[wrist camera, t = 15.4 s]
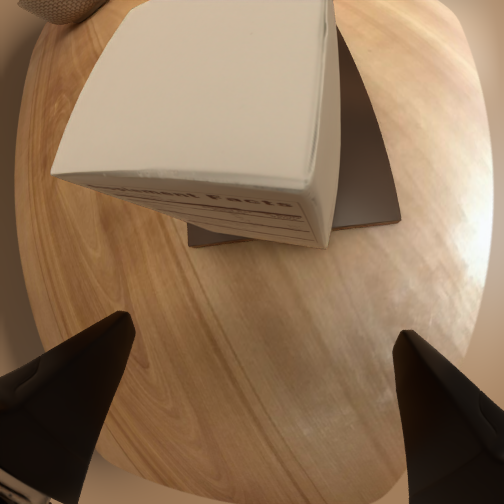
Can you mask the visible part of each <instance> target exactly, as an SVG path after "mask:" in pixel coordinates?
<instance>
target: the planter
mask: <svg viewBox="0 0 504 504" xmlns="http://www.w3.org/2000/svg"><path fill="white" fill-rule="evenodd" d="M105 1H106V0H20V1H19V2H18V5H19V6H20V7H21V8H23V9H25V10H27V11H28V12H30V13H32V14H34V15H36V16H37V17H39V18H41V19H43V20H45V21H47V22H50V23H52V24H56V25H64V24H68V23H72V22H73V23H80V22H82V21H83V20H85V19H86V18H88V17H89V16H90V15H91V14H93V13H94V12H95V11H96V10H97V9H98V8H99V7H101V6H102V5H103V4H104V3H105Z"/></svg>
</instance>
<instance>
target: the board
mask: <svg viewBox="0 0 504 504" xmlns="http://www.w3.org/2000/svg"><path fill="white" fill-rule="evenodd" d="M336 30H337V42H338V57H339V75H340V123H341V140H340V142H341V146H340V166H339V178H338V188H337V196H336V203H335V210H334V216H333V222H332V227H331V231H334V230H342V229H351V228H359V227H368V226H377V225H386V224H395V223H398V222H400V221H401V214H400V209H399V203H398V198H397V193H396V189H395V184H394V180H393V175H392V171H391V167H390V163H389V159H388V156H387V152H386V148H385V145H384V141H383V138H382V135H381V132H380V128H379V125H378V122H377V119H376V116H375V113H374V110H373V107H372V105H371V102H370V99H369V96H368V94H367V91H366V89H365V86H364V83H363V81H362V79H361V76H360V74H359V71H358V69H357V67H356V64H355V62H354V60H353V58H352V55H351V53H350V51H349V49H348V47H347V45H346V43H345V41H344V39H343V37H342V35H341V33H340V31H339V29H338V27H337V25H336ZM187 228H188V246H189V247H192V248H200V247H207V246H215V245H222V244H230V243H237V242H245V241H253V240H261V239H255V238H249V237H243V236H237V235H230V234H224V233H216V232H213V231H210V230H207V229H204V228H201V227H199V226H196V225H194V224H191V223H188V222H187Z"/></svg>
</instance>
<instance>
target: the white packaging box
mask: <svg viewBox="0 0 504 504" xmlns="http://www.w3.org/2000/svg"><path fill="white" fill-rule="evenodd" d="M340 140H341V123H340V75H339V57H338V42H337V30H336V21H335V12H334V4H333V0H150V1H148V2H145V3H143V4H141V5H138V6H136V7H134V8H132V9H131V10H130V11H129V12H128V14H127V15H126V17H125V18H124V19H123V21H122V22H121V24H120V25H119V27H118V28H117V30H116V32H115V33H114V35H113V36H112V38H111V39H110V41H109V42H108V44H107V46H106V47H105V49H104V51H103V52H102V54H101V56H100V57H99V59H98V61H97V63H96V65H95V66H94V68H93V70H92V72H91V74H90V76H89V78H88V80H87V82H86V84H85V86H84V88H83V90H82V92H81V94H80V96H79V98H78V100H77V103H76V105H75V107H74V109H73V112H72V114H71V117H70V119H69V121H68V124H67V127H66V129H65V132H64V134H63V137H62V139H61V142H60V145H59V148H58V151H57V154H56V157H55V160H54V163H53V166H52V169H51V175H52V176H55V177H57V178H60V179H62V180H65V181H68V182H71V183H74V184H77V185H80V186H83V187H86V188H90V189H93V190H96V191H98V192H101V193H104V194H107V195H110V196H113V197H116V198H119V199H122V200H125V201H128V202H131V203H134V204H137V205H140V206H143V207H146V208H149V209H152V210H155V211H158V212H161V213H163V214H166V215H169V216H172V217H174V218H177V219H180V220H183V221H185V222H188V223H191V224H194V225H196V226H199V227H201V228H204V229H207V230H210V231H213V232H216V233H224V234H230V235H237V236H243V237H249V238H255V239H262V240H268V241H274V242H281V243H287V244H293V245H300V246H306V247H312V248H319V249H327V247H328V243H329V238H330V233H331V227H332V222H333V216H334V210H335V203H336V196H337V188H338V178H339V166H340V146H341V142H340Z"/></svg>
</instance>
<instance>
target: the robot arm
mask: <svg viewBox="0 0 504 504" xmlns="http://www.w3.org/2000/svg"><path fill="white" fill-rule="evenodd" d="M135 334H136V332H135V327H134V324H133V321H132V318H131V315H130V314H129V313H128V312H125V311H116V312H115V313H113V314H111V315H109V316H108V317H106V318H104V319H102V320H101V321H99V322H97V323H95V324H94V325H92V326H90V327H89V328H87V329H85V330H83V331H82V332H80V333H78V334H77V335H75V336H73V337H71V338H70V339H68V340H66V341H65V342H63V343H61V344H59V345H58V346H56V347H54V348H53V349H51V350H49V351H48V352H46V353H44V354H42V355H41V356H39V357H38V358H36V359H34V360H32V361H31V362H29V363H27V364H25V365H24V366H22V367H20V368H18V369H16V370H14V371H12V372H10V373H8V374H6V375H4V376H2V377H0V504H52V503H51V502H50V499H51V498H53V499H55V500H57V501H59V502H61V503H63V504H78V501H79V497H80V494H81V490H82V486H83V483H84V480H85V477H86V473H87V470H88V467H89V464H90V461H91V457H92V454H93V451H94V449H95V446H96V443H97V440H98V437H99V434H100V432H101V429H102V426H103V423H104V421H105V418H106V415H107V413H108V410H109V408H110V405H111V402H112V400H113V397H114V395H115V392H116V390H117V388H118V385H119V383H120V380H121V378H122V375H123V373H124V370H125V367H126V364H127V360H128V357H129V354H130V351H131V348H132V344H133V341H134V338H135ZM392 354H393V363H394V372H395V383H396V393H397V399H398V405H399V410H400V416H401V422H402V429H403V436H404V444H405V452H406V461H407V472H408V485H409V504H504V411H503V410H502V409H501V408H500V407H498V406H497V405H496V404H495V403H494V402H493V401H492V400H491V399H490V398H488V397H487V396H486V395H485V394H484V393H483V392H482V391H480V389H479V388H478V387H477V386H476V385H475V384H473V383H472V382H471V381H470V380H469V379H468V378H467V377H466V376H465V375H464V374H463V373H462V372H460V371H459V370H458V369H457V368H456V367H455V366H454V365H453V364H452V363H450V362H449V361H448V360H447V359H446V358H445V357H444V356H443V355H441V354H440V353H439V352H438V351H437V350H436V349H435V348H434V347H432V346H431V345H430V344H429V343H428V342H427V341H425V340H424V339H423V338H422V337H421V336H420V335H418V334H417V333H416V332H415V331H414V330H402V331H401V332H400V334H399V336H398V338H397V340H396V342H395V345H394V347H393V351H392Z"/></svg>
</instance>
